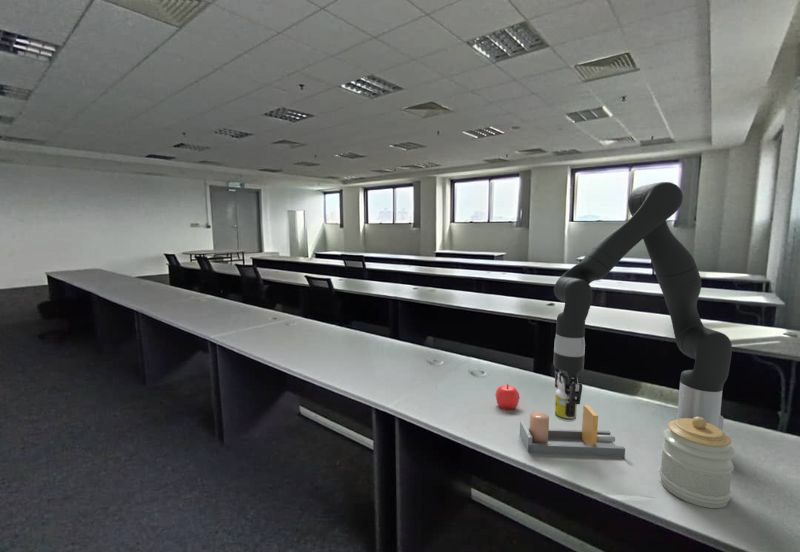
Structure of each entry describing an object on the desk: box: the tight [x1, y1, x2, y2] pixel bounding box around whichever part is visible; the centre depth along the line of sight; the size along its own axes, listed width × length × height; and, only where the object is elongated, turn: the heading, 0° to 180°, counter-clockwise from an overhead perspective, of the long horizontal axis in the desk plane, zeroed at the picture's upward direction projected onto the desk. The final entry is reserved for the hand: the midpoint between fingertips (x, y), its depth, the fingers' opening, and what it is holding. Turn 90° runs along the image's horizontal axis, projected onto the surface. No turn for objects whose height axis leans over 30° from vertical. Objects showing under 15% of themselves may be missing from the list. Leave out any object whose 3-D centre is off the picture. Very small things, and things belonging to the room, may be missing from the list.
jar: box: [659, 417, 736, 509], centre depth 87 cm, size 13×13×18 cm
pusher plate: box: [581, 404, 616, 446], centre depth 104 cm, size 7×6×10 cm
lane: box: [519, 420, 626, 460], centre depth 105 cm, size 25×9×5 cm, turn 86°
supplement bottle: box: [554, 381, 578, 423], centre depth 104 cm, size 5×5×10 cm
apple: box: [495, 383, 520, 411], centre depth 129 cm, size 8×8×8 cm
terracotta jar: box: [528, 411, 550, 444], centre depth 105 cm, size 5×5×8 cm
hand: (565, 410), depth 104 cm, fingers closed on supplement bottle, 5 cm apart
